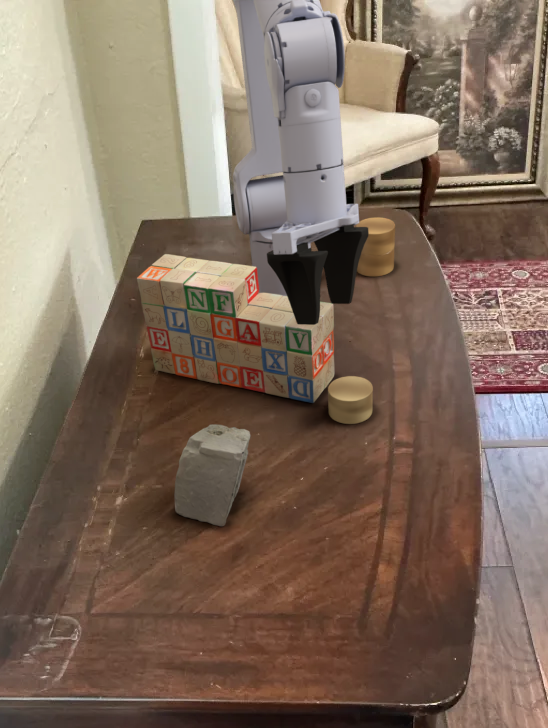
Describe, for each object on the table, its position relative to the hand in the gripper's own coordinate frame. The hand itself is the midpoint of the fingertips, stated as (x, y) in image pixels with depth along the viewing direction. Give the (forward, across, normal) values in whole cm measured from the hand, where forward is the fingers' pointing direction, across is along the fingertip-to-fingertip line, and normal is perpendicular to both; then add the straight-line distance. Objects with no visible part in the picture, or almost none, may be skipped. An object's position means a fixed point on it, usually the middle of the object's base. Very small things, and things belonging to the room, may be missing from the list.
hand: (325, 313), depth 87 cm
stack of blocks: (+9, +5, +14) cm, 18 cm away
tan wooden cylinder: (+12, +3, 0) cm, 12 cm away
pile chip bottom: (+3, +35, +10) cm, 36 cm away
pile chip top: (0, +34, +10) cm, 35 cm away
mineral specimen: (+15, -15, +6) cm, 22 cm away
